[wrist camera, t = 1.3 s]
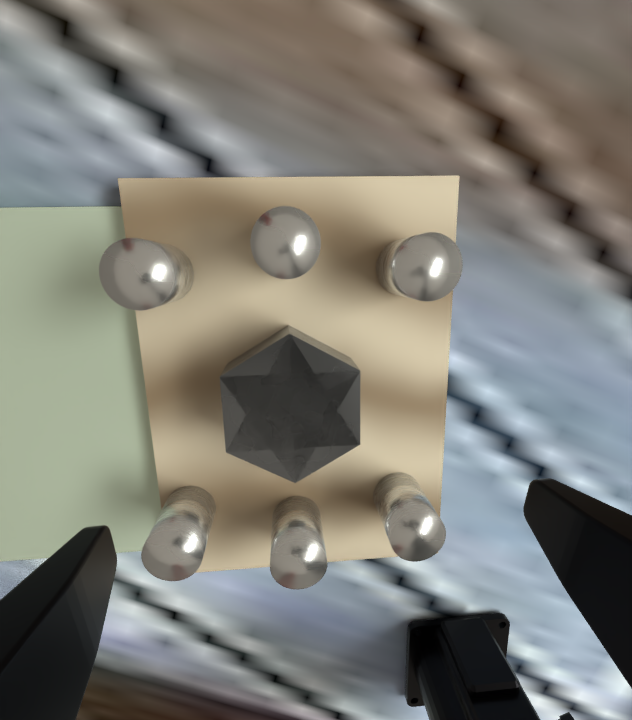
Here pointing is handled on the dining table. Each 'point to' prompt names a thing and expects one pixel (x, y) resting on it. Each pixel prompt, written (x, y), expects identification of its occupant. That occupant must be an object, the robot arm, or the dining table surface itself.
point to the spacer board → (309, 315)
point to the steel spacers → (296, 513)
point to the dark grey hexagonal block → (290, 404)
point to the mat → (69, 388)
